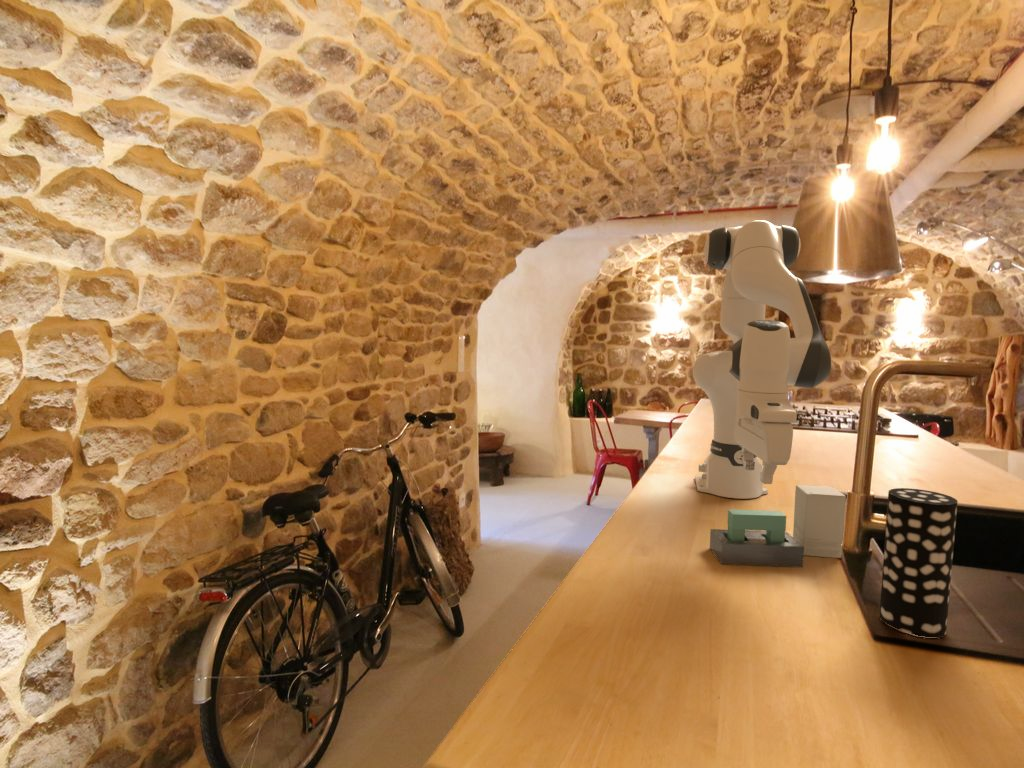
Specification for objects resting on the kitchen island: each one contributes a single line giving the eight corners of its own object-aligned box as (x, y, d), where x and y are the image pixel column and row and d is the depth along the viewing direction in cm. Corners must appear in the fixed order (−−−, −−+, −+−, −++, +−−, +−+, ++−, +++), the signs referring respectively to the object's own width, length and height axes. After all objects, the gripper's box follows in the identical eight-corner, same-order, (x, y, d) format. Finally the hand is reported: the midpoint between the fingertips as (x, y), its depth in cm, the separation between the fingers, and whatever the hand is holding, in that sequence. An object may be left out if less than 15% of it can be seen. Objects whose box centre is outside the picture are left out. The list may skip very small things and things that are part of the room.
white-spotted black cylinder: (886, 605, 91) (895, 485, 90) (950, 624, 86) (961, 496, 84) (873, 623, 86) (882, 495, 84) (940, 645, 80) (952, 508, 78)
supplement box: (843, 559, 110) (847, 496, 109) (802, 555, 112) (805, 493, 110) (829, 545, 117) (833, 485, 116) (791, 542, 119) (794, 483, 118)
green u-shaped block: (726, 553, 112) (728, 509, 112) (777, 555, 112) (780, 511, 111) (730, 559, 109) (732, 514, 109) (783, 561, 109) (786, 516, 108)
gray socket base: (709, 548, 115) (710, 529, 115) (785, 550, 114) (786, 531, 114) (721, 564, 107) (722, 543, 107) (802, 567, 106) (804, 546, 106)
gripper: (728, 397, 118) (724, 461, 120) (763, 414, 98) (758, 491, 100) (759, 398, 118) (754, 462, 119) (801, 415, 98) (795, 492, 99)
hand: (756, 475), depth 109 cm, fingers open, 8 cm apart
